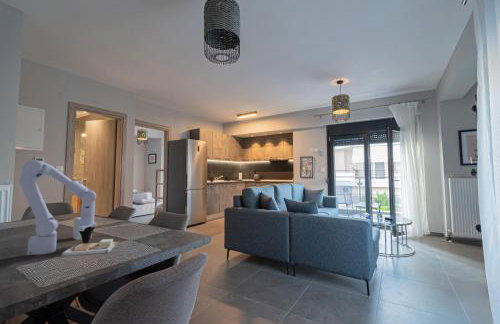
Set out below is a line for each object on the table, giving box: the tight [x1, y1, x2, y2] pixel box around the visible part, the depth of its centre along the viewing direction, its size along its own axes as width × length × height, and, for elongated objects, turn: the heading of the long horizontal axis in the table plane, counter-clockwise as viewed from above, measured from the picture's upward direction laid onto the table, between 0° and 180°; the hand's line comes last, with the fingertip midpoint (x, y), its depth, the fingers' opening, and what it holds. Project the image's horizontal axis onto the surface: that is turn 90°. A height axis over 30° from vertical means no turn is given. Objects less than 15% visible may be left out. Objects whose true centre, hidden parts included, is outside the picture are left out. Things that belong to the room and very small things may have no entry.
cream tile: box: [98, 238, 114, 246], centre depth 118 cm, size 5×5×2 cm
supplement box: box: [72, 216, 93, 241], centre depth 130 cm, size 7×7×13 cm
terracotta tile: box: [72, 246, 91, 252], centre depth 108 cm, size 5×5×2 cm
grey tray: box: [61, 244, 115, 257], centre depth 107 cm, size 18×10×2 cm, turn 107°
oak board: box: [75, 241, 119, 249], centre depth 116 cm, size 18×9×1 cm, turn 107°
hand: (85, 242), depth 113 cm, fingers closed
